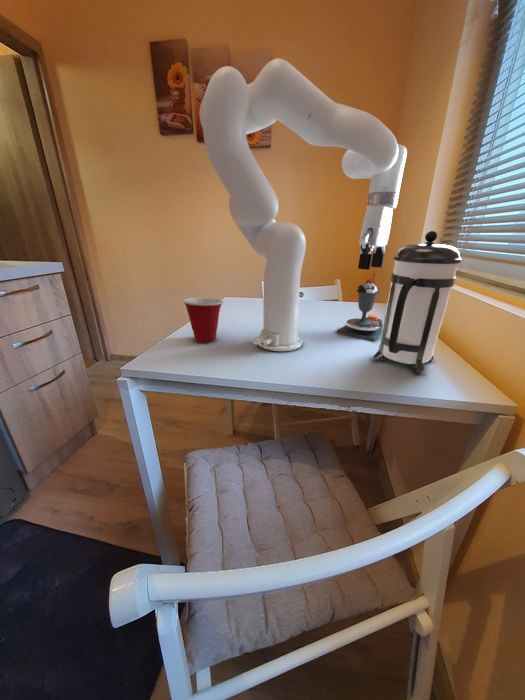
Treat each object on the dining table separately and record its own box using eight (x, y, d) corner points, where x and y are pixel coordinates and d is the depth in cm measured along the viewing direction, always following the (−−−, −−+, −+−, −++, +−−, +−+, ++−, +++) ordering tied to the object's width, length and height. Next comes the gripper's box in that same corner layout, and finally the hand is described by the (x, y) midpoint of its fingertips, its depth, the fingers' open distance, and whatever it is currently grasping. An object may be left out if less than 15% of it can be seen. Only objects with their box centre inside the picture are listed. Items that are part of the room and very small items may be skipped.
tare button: (375, 322, 92) (376, 317, 91) (365, 320, 94) (366, 315, 93) (378, 320, 94) (379, 315, 94) (369, 318, 96) (370, 314, 96)
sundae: (373, 321, 90) (382, 273, 84) (374, 327, 84) (383, 276, 78) (352, 319, 92) (359, 272, 86) (351, 324, 86) (358, 275, 80)
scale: (374, 341, 82) (375, 333, 81) (337, 332, 89) (337, 325, 88) (392, 328, 94) (393, 321, 93) (357, 321, 101) (358, 314, 100)
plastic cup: (232, 337, 83) (230, 298, 79) (207, 349, 75) (204, 305, 70) (205, 331, 89) (202, 293, 84) (179, 341, 80) (174, 300, 76)
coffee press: (359, 348, 77) (378, 230, 65) (418, 349, 76) (447, 231, 65) (382, 378, 61) (413, 230, 49) (456, 380, 61) (505, 231, 49)
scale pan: (372, 332, 82) (372, 330, 81) (340, 325, 87) (341, 323, 87) (384, 325, 89) (384, 322, 88) (354, 319, 94) (354, 316, 94)
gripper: (379, 205, 83) (368, 265, 89) (355, 198, 70) (345, 268, 77) (405, 204, 78) (392, 267, 85) (385, 197, 66) (372, 271, 73)
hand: (370, 268), depth 81 cm, fingers open, 9 cm apart
